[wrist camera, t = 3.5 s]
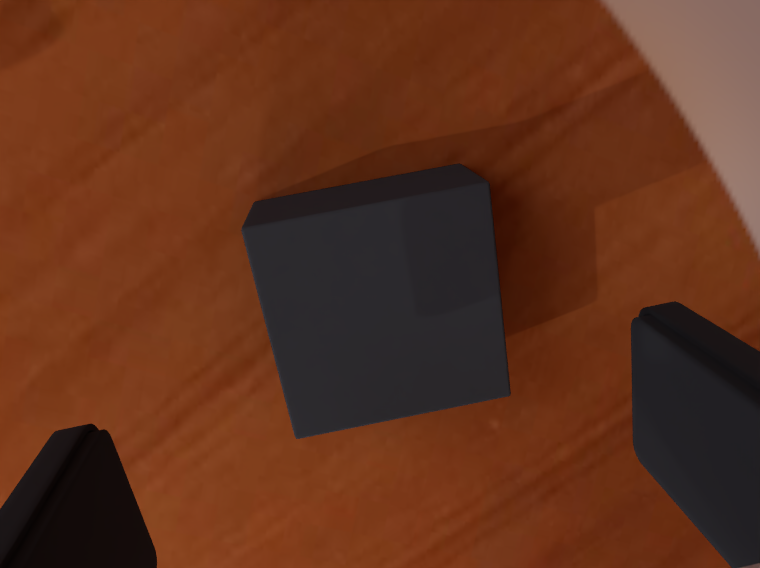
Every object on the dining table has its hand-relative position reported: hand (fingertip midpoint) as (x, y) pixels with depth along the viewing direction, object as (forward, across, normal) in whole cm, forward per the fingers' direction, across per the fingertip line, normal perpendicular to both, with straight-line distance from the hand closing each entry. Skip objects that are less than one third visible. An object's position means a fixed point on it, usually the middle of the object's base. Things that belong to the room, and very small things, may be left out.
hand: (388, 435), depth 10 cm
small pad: (+8, -1, 0) cm, 8 cm away
